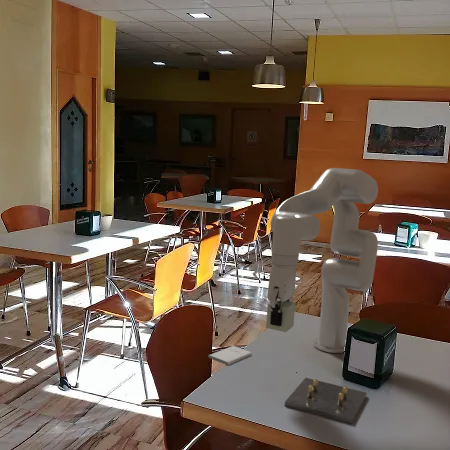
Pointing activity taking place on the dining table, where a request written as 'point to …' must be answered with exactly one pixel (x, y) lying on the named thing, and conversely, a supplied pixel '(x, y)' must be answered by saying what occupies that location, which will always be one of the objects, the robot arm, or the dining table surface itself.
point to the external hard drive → (230, 355)
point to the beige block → (287, 316)
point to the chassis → (327, 400)
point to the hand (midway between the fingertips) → (280, 321)
